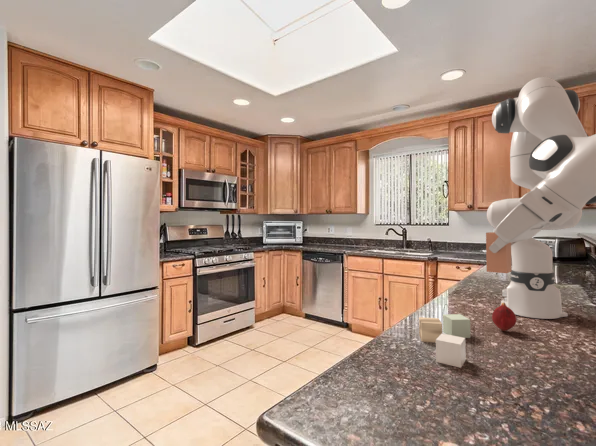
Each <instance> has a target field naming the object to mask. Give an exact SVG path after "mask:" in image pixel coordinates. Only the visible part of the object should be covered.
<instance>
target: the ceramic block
mask: <svg viewBox="0 0 596 446" xmlns="http://www.w3.org/2000/svg"><path fill="white" fill-rule="evenodd" d="M466 351H467V350H466V338H463V337H458V336H453V335H447V334H445V333H442V334H441V335H440V336H439V337H438V338H437V339H436V343H435V362H436V363H439V364H443V365H448V366H451V367H452V366H453V367H457V368H460V369H461V368H462V367H463V365H464V364H465V362H466V357H467V356H466V353H467V352H466Z"/></svg>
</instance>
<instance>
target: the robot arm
mask: <svg viewBox="0 0 596 446" xmlns="http://www.w3.org/2000/svg"><path fill="white" fill-rule="evenodd" d="M578 95H579V94H578V93H577V92H576V91H575V90H573V89H565V88H564V87H563V86H562V85H561V83H559V82H558V81H557V80H555V79H554V78H551V77H548V76H539V77H536V78H532V79H531V80H529V81H528V82H526V84H524V86H523V87H522V88H521V89H520V91H519V93H518V97H514V98H511V97H509V98H507V99H505V100H503V101H500V102H499V103H497V104H496V105H495V107H494V109H493V112H492V114H491V123H492V126H493V128H494V130H495V131H496V132H497V133H498V134H509V133H512V137H511V142H510V152H509V162H510V163H509V164H510V165H509V166H510V168H509V170H510V173H509V174H510V179H511V182H512V183H514V184H515V185H516V186H518V187H522V188H525V189H528V190H529V191H528V192H527V193H525V194H524V195H522V197H515V198H505V199H500V200H496V201H493V202H492V203H490V205H488V208H487V211H486V219H487V221H488V222H487V223H489V225H490V226H491V227H493V228H494V232H495V234H497V235H498V236H499V237H498V238H497V239H496V241H495V242H494V243H493V244H492V245H491V246H490V247H489V250H491V251H492V252H493V253H497V252H499V251H500V250H501V249H502V248H503V247H504V246H505V245H506V244H508V243H511V267H512V271H511V272H509V276H510V277H509V278H510V282H509V284H508V285H507V287H506V288H504V289H502V290H501V293H502V294H501V295H502V297H504V298H503V299H501V301H500V306H501V304H502V303H505V304H506V306H507V307H508V308H510V309H511V310H512V311H513V312H514V314H515V316H516V315H517V316H521V317H524V318H525V317H526V318H532V319H543V320H545V319H546V320H548V319H549V320H552V319H559V318H563V317H565V318H567V317H569V315H568V312H567V311H564V310H563V307H562V297H561V296H562V294H561V290H560V288H557V287H556V286H555V283H556V281H555V280H556V276H555V272H553V271H554V270H553V266H554V263H553V250H552V248H551V247H550V246H549V245H548V244H546V243H545V242H543V241H540V240H538V239H535V238H534V237H535V236H536V235H537V234H538V233H539V232H541V230H542V231H557V230H565V229H571V228H575V227H576V226H577V225H578V224H579V223H580V221H581V220H582V216H583V208H584V207H585V206H586V205H592V204H596V133H595V134H592V135H590V136H589V135H588V133H587V132H586V130H585V128H584V126H583V124H582V122H581V120H580V118H579V116H578V113H579V111H580V108H581V101H580V98H579V96H578Z"/></svg>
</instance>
